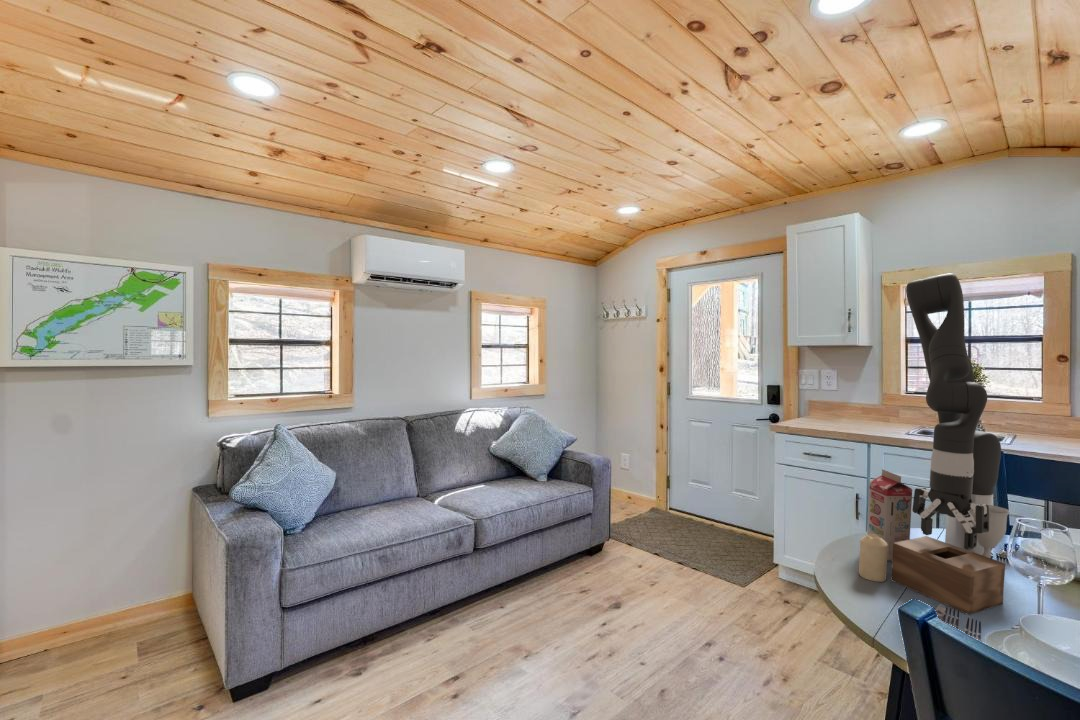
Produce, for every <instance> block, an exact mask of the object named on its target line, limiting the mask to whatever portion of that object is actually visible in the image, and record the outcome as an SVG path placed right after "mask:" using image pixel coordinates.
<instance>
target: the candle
mask: <svg viewBox="0 0 1080 720" xmlns="http://www.w3.org/2000/svg"><path fill="white" fill-rule="evenodd" d="M859 540H860V541H859V543H860V544H859V559H858V560H859V561H858V564H859V565H858V575H859V576H860V577H861V578H863V579H866V580H868V581H872V582H877V583H878V582H885V581H886V579H887V569H888V568H887V566H888V561H887V551H888V544H887V543H886V542H885V541H884V540H883V539H882V538H880V537H879V536H877V535H876V534H867V533H866V535H864V536H862V537H861V538H860V539H859Z"/></svg>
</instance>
